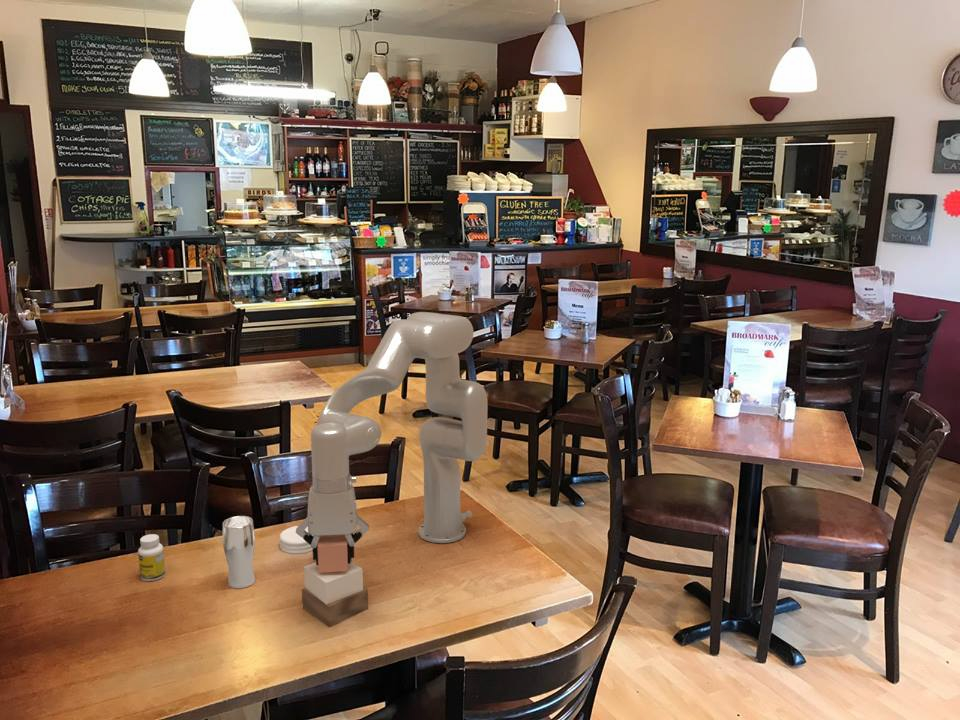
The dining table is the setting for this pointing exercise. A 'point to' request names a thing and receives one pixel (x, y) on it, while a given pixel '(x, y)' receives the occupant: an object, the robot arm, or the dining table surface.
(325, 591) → the tower top
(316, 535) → the robot arm
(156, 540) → the supplement bottle
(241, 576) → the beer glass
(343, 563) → the terracotta cube
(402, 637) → the dining table surface
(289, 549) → the coaster
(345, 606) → the tower bottom
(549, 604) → the dining table surface
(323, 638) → the dining table surface
